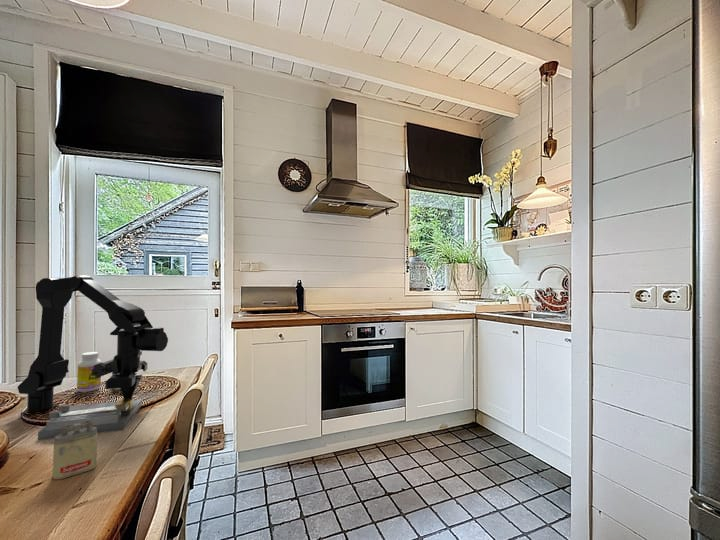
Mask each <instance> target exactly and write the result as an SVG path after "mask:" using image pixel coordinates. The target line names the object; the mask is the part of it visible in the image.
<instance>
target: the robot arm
mask: <svg viewBox="0 0 720 540" xmlns="http://www.w3.org/2000/svg"><path fill="white" fill-rule="evenodd" d="M74 292H79V293H80V294H82V295H84V296H85V297H86V298H87V299H89V300H90V301H91V302H92V303H94V304H96V305H97V306H98V307H100V309H102V310H103V311H105V312H106V314H107V315H108V319H109V320H110V321H111V322H112V323H113V324H114V326H116V328H115V329H114V330H113V331H111V332H110V333H109V336H116V337H117V338H116V340H117V342H116V343H117V344H116V346H117V348H116V349H117V350H116V354H115V355H114V356H113V359H110V360H107V361H105V362H102V361H101V363H99V364H95V365H94V367H93V368H92V369H91V370H92V373H91V374H92V375H95V377H96V379H97V378H100V377H101V378H102V377H104V376H106V375H109V374H112V372H113V374H115V375H113V376H112V375H111V376H110V377H109V378H108V379H107V380H106V381H105V385H104V389H105V390H111V389H113V388H120V389H119V390H120V391H121V393H122V394H121V395H122V396H123V397H122V398H131V397H134V395H135V392H136V390H137V388H138V385H140V381H141V379H142V378H143V374H138V372H139V371H140V370H142V371H143V372H147V370H148V362H147V361H145V360H141V356H142V355H143V351H144V352H145V351H147V352H163V351H164V350H165V349H166V348H167V346H168V343H169V338H168V336H167V333H166V332H165V328H164V327H153V325H152V323H151V322H150V321H149V319H148V317H147V316H146V312H145V310H144V309H143V308H141V307H140V306H138V305H135V304H133V303H129V302H127V301H124V300H122V299H120V298H119V297H117V296H116V295H114V293H112V292H110V291H109V290H108V289H106V288H105V286H102V285H101V284H100V283H98V282H97V281H96V280H94V278H93V277H92V276H89V275H74V276H70V277H43V278H41V279H40V280H39V281H37V282H36V285H35V296H36V297H35V298H36V300H37V302H38V303H39V305H40V306H41V310H42V311H41V321H40V329H39V330H40V333H39V343H38V353H37V357H36V358H35V360H33V361H32V363H31V365H30V366H29V370H28V373H27V374H28V375H27V377H26V378H25V379H24V380H23V381H22V382H21V383H19V385H18V386H17V390H18V394H20V395H23V394H24V395H27V399H26V400H27V401H26V403H27V404H26V409H25V410H23V411H22V412H21V413H20V415H21V416H23V415H22V414H24V415H27V414H26V413H34V414H38V413H37V412H45V413H48V412H47V411H49V412H51V411H52V410H53V409H55V408H56V407H57V406H58V405H59V403H56V402H55V403H54V388H55V387H58V386H59V387H60V386H62V383H63V381H64V379H65V378H66V376H67V374H68V373H69V372H70V371H69V365H70V364H69V359H68V358H67V359H65V358H64V357H63V356H62V354H61V351H62V341H63V339H62V338H63V329H64V317H65V308H66V306H67V305H68V303H69V302H70V301H71V299H72V297H73V293H74ZM118 373H120V374H118ZM113 390H114V389H113ZM55 406H56V407H55ZM54 407H55V408H54ZM51 409H52V410H51Z"/></svg>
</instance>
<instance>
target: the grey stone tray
mask: <svg viewBox="0 0 720 540" xmlns="http://www.w3.org/2000/svg"><path fill="white" fill-rule="evenodd" d="M116 402H117V401H110V402H109V401H107V402H99V403H96V402H95V403H87V404H77V405H71V406H70V404H61V405H59V406H58V410H51V411H49V420H48V421H46V423H45V424H46V425H45V426H43V428H41V429H40V430H39V431H37V441H42V440H43V441H44V440H50V439H54V438H55V437H56V436H57V435H59V434H62V433H63V432H62V431H63V430H62V426H65V425H72V424H77V423H81V422H85V421H87V420H89V419H92V422H93V426H92V427H96V428H97V434H100V433H101V434H102V433H110V432H111V433H112V432H118V431H120V432H121V431H124V430H125V429H126V427H127V426H128V425H129V424H130V422H131V421H132V419H133V418H134V417H135V416H136V414H137V412H139V410H140V409H141V407H142V406H143V399H142V398H139V399H134V405H133V408H132V409H131V410H128V411H121V412H111V413H101V414H91V415H81V416H71V417H62V418H61V412H70V411H78V410H86V409H94V408H103V407H111V406H115V405H116ZM141 405H142V406H141ZM83 424H86V423H83ZM70 427H71V426H70ZM84 428H87V427H84ZM81 429H83V428H81ZM71 431H73V430H71ZM68 432H70V431H68Z"/></svg>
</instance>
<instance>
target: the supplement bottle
mask: <svg viewBox="0 0 720 540" xmlns="http://www.w3.org/2000/svg"><path fill="white" fill-rule="evenodd" d="M99 354H100V353H99V352H98V351H87V352H83V353H81V358H82V359H81V360H80V361H79V362H78V363H77V375H76V377H77V378H76V379H77V380H76V390H77V392H81V393H87V391H88V392H93V391H96V390H98V389H100V388H101V386H102V385H101V384H102V382H101V381H102V379H101V378H102V376H101V377H100V378H97V379H96V377H95V375H92V374H91V373H92V370H91V369H92V368H93V367H94V365H95V364H99V363H101V362H102V360H101V359H99V358H98V357H99Z"/></svg>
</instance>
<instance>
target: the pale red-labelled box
mask: <svg viewBox="0 0 720 540" xmlns="http://www.w3.org/2000/svg"><path fill="white" fill-rule="evenodd" d="M83 423H86V424H83ZM70 426H71V427H70ZM92 426H93V422H92V419H89V420H87V421H85V422H81V423H77V424H72V425H65V426H62V430H63V431H62V432H63V433H62V434H59V435H57V436H56V437H55V438H53V439H54V440H53V441H54V443H53V455H52V456H53V457H52V458H53V459H52V461H53V463H52V476H51V478H52V479H53V480H63V479H65V478H69V477H72V476H76V475H79V474H83V473H85V472H89V471H91V470H93V469H95V468H96V467H97V464H98V463H97V458H98V457H97V455H98V433H97V428H96V427H92ZM84 427H87V428H84ZM81 428H83V429H81ZM71 430H73V431H71ZM68 431H70V432H68Z"/></svg>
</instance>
